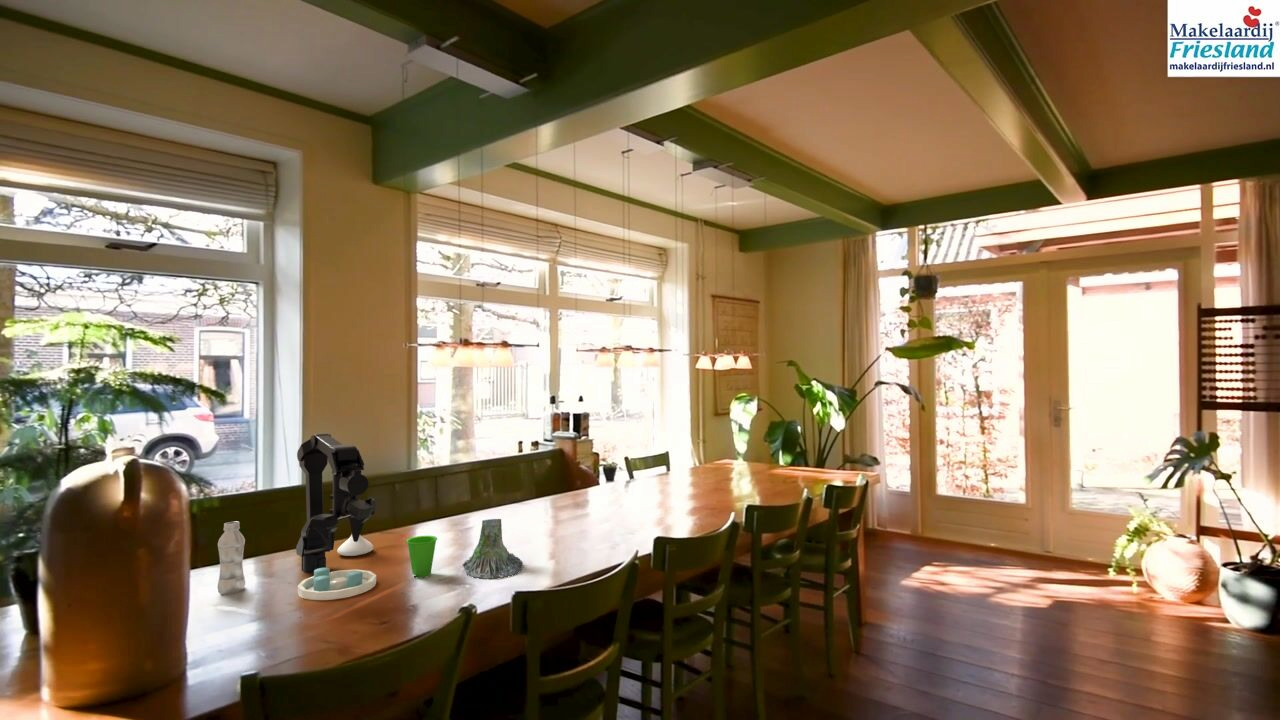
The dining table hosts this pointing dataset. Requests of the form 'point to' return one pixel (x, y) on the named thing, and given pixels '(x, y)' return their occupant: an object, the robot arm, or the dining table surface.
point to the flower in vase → (355, 547)
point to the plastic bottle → (231, 559)
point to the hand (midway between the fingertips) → (343, 545)
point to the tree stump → (492, 555)
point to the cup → (421, 554)
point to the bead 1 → (322, 583)
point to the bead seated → (322, 572)
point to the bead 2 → (354, 579)
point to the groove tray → (336, 593)
